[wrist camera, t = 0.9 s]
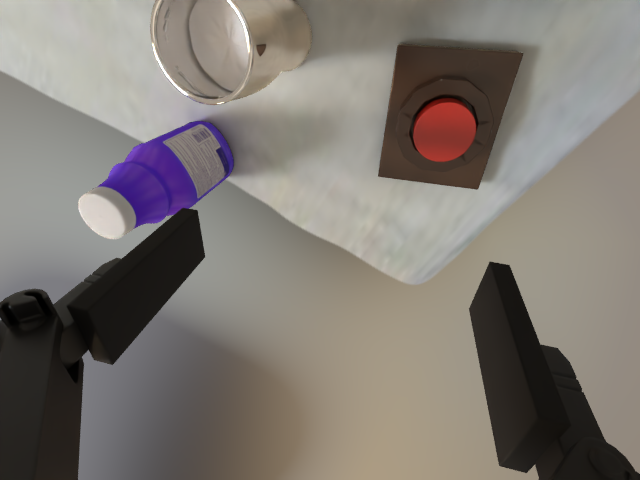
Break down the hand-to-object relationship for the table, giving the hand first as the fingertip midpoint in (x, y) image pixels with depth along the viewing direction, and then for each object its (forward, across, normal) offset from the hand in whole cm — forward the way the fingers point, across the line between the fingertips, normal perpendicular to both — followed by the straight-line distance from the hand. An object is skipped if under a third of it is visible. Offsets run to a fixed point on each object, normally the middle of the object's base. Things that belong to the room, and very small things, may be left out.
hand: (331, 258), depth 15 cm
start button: (+20, +6, +1) cm, 21 cm away
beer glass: (+24, -10, +7) cm, 27 cm away
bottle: (+24, -19, -5) cm, 31 cm away
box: (+24, +6, +1) cm, 24 cm away
